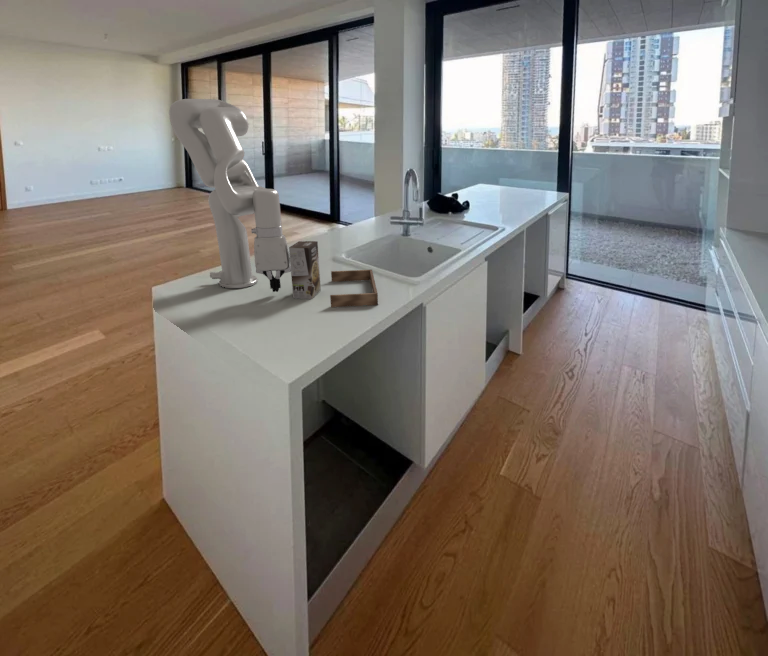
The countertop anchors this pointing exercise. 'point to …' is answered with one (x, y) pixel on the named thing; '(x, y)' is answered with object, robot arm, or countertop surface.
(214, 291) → the countertop surface
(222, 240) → the robot arm
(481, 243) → the countertop surface
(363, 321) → the countertop surface
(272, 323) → the countertop surface
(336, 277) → the walnut bay
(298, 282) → the coffee box
